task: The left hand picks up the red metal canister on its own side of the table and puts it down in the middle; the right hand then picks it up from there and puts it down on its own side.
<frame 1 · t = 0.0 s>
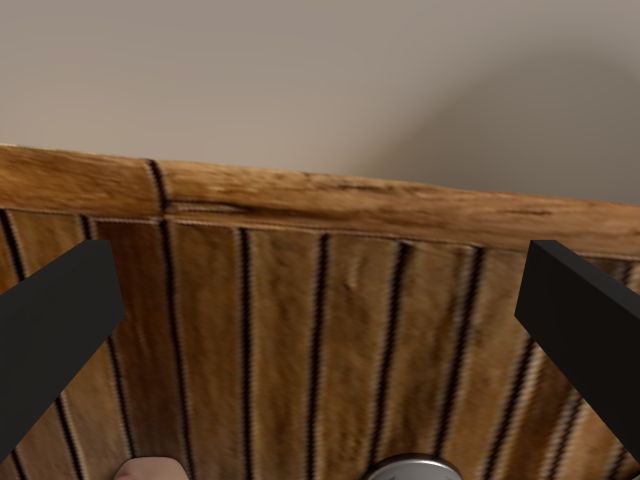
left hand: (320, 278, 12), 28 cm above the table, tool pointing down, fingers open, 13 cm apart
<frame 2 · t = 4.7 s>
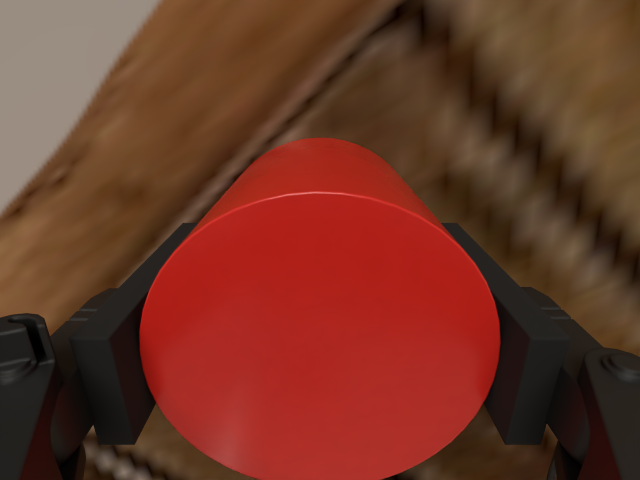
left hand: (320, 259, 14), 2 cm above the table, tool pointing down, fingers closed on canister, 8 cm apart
canister: (319, 236, 16), on the table, touching left hand
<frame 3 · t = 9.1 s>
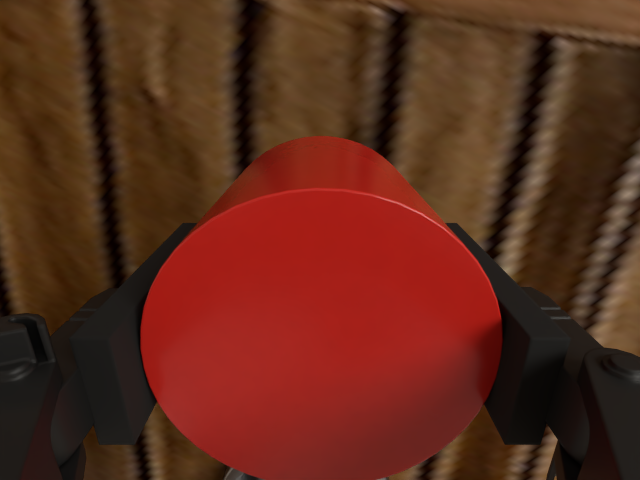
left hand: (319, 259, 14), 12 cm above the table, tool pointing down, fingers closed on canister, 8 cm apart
canister: (320, 235, 16), point 10 cm above the table, touching left hand
when the left hand's fingers open (3 cm above the table, at t = 13.8 s): canister drops 1 cm, on the table.
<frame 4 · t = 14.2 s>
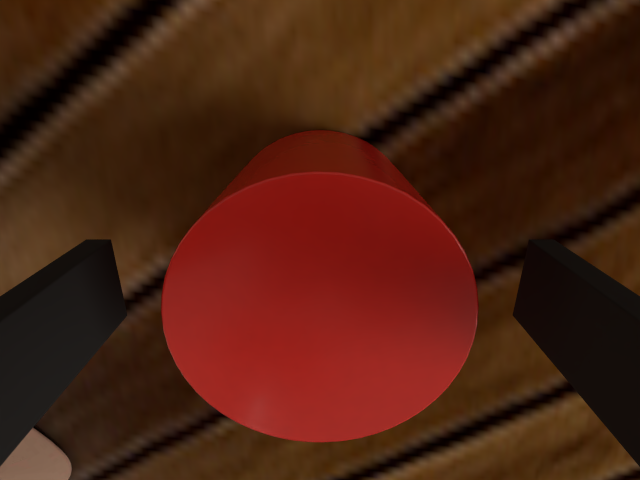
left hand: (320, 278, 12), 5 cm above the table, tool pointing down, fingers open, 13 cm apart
canister: (320, 222, 17), on the table
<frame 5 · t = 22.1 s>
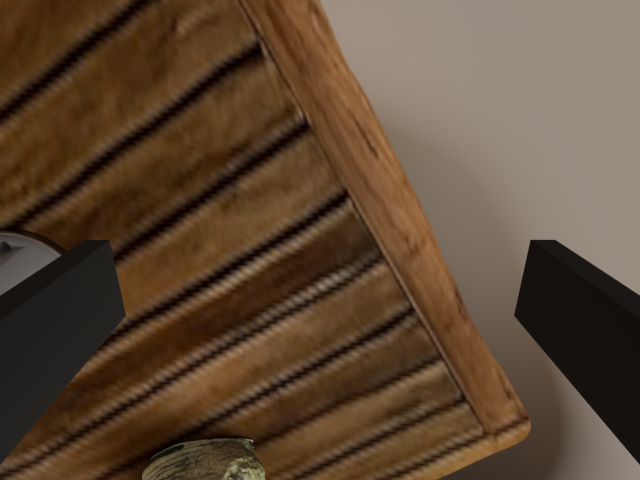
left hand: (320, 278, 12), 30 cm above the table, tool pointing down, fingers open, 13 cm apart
fossil: (209, 455, 57), on the table
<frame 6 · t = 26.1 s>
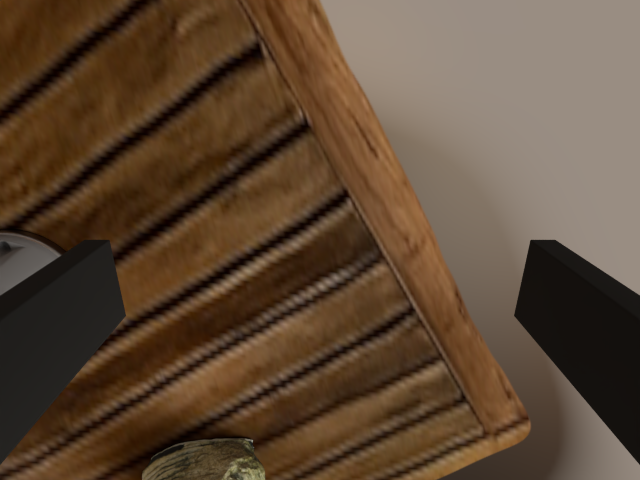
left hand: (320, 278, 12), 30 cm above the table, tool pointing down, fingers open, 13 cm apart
fossil: (209, 455, 57), on the table
when the right hand's fingers open (3 cm above the table, at t = 30.4 s): canister stays where it is, on the table.
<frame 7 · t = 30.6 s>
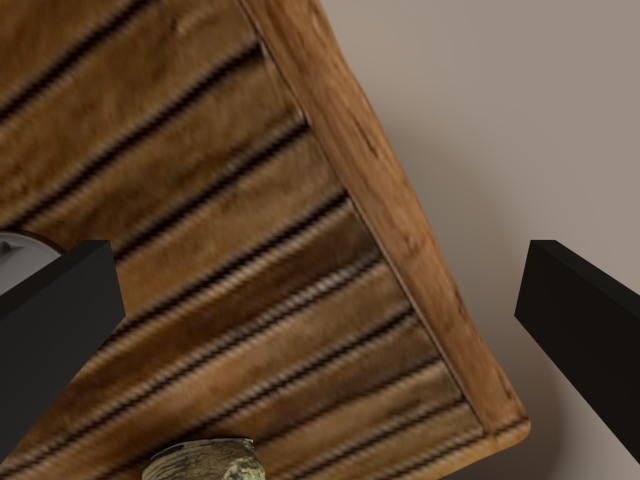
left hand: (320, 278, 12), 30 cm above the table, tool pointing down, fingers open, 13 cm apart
fossil: (209, 455, 57), on the table
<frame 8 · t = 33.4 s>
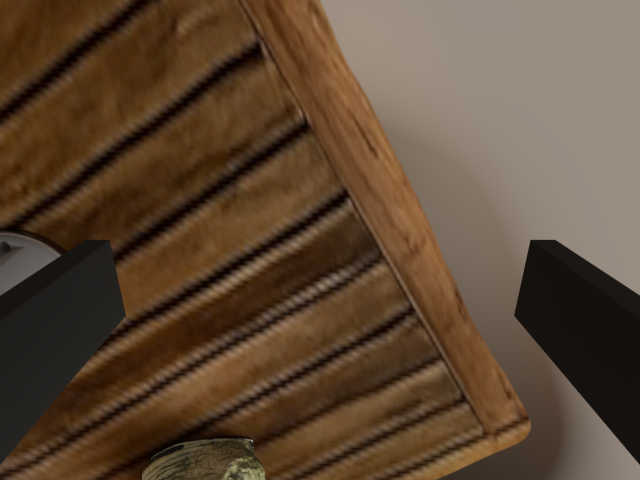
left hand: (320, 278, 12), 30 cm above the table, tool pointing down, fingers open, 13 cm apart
fossil: (209, 455, 57), on the table
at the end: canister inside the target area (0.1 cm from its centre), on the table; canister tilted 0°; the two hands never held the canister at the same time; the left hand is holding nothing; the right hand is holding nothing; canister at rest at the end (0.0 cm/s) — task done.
